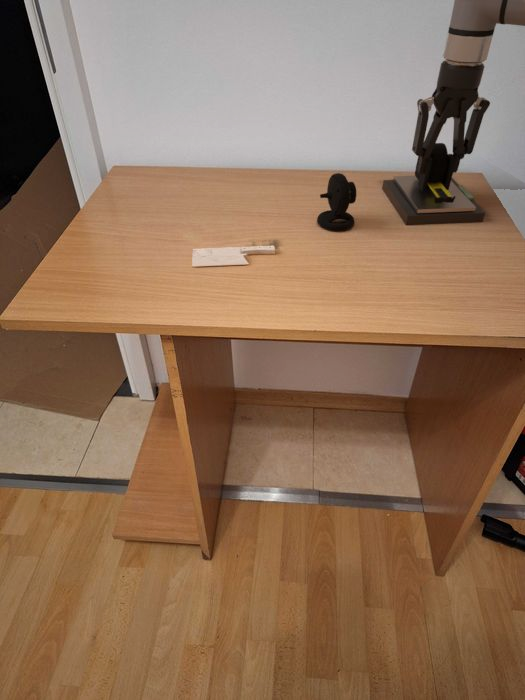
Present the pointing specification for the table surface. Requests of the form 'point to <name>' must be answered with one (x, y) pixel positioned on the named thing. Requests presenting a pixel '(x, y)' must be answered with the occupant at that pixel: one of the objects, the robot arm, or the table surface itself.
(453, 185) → the pan
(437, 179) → the tape measure
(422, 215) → the scale base
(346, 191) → the webcam
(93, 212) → the table surface
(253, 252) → the toy cleaver knife
